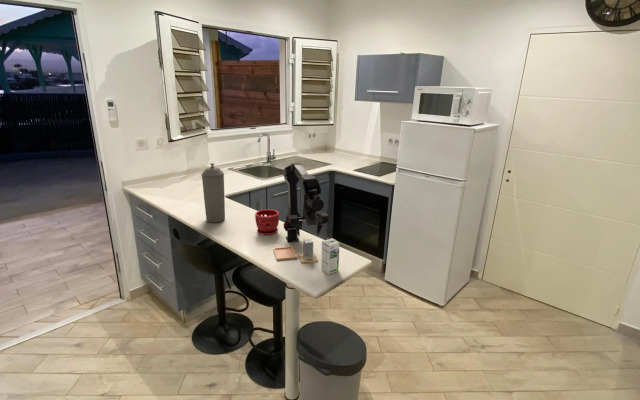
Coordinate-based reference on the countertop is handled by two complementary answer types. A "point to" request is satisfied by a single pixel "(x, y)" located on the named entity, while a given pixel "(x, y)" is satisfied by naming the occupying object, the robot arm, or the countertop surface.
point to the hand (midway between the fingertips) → (308, 235)
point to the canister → (214, 194)
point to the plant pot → (267, 222)
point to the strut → (307, 247)
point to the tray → (284, 253)
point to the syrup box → (330, 256)
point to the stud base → (307, 258)
